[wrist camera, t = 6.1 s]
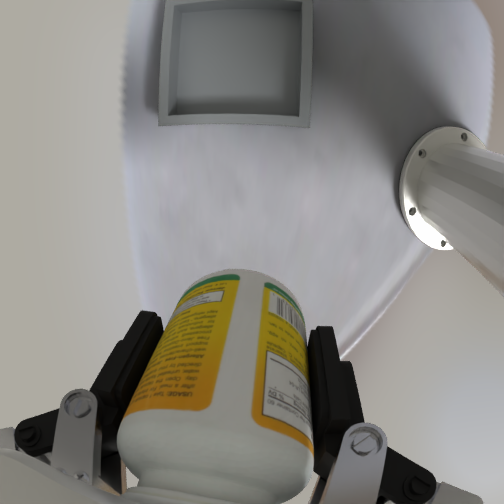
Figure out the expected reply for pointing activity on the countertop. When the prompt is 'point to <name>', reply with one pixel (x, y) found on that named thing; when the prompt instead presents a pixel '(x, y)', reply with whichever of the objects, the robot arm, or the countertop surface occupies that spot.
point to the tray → (236, 62)
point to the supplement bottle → (224, 399)
